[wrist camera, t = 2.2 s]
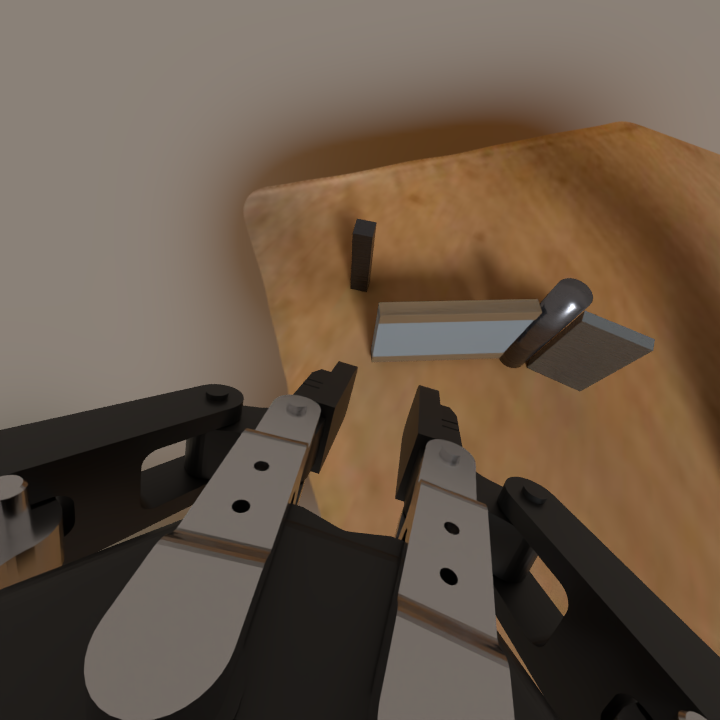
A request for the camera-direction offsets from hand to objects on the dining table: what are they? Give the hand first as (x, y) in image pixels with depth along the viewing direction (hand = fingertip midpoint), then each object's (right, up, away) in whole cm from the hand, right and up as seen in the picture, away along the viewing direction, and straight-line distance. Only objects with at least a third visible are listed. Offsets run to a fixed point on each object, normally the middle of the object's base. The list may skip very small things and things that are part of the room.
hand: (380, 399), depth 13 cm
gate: (+7, +2, +26) cm, 27 cm away
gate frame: (+11, +5, +28) cm, 31 cm away
